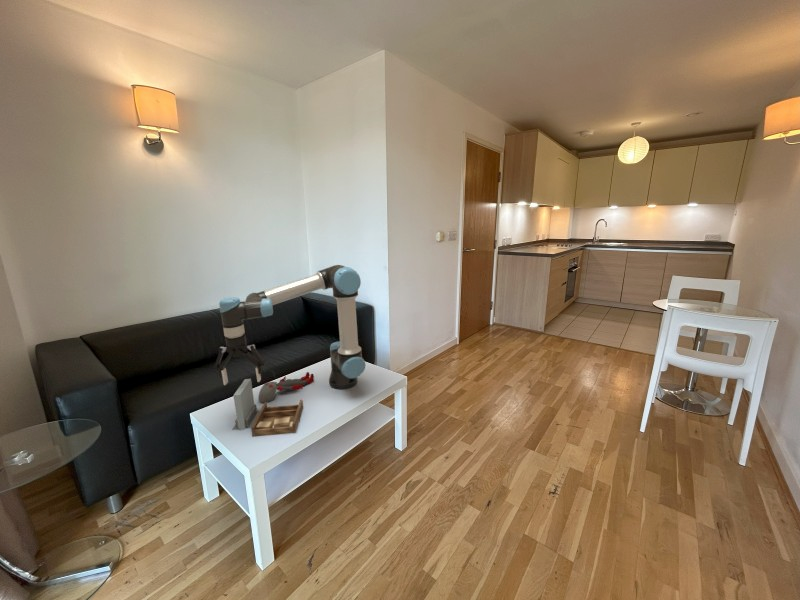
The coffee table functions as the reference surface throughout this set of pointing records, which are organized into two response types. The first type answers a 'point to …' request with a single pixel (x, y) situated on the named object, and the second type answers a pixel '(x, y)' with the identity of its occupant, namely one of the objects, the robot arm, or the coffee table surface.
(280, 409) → the rack
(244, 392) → the grey flat slab
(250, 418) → the stand
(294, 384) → the toy
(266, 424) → the offcut
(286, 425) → the offcut
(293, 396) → the coffee table surface
